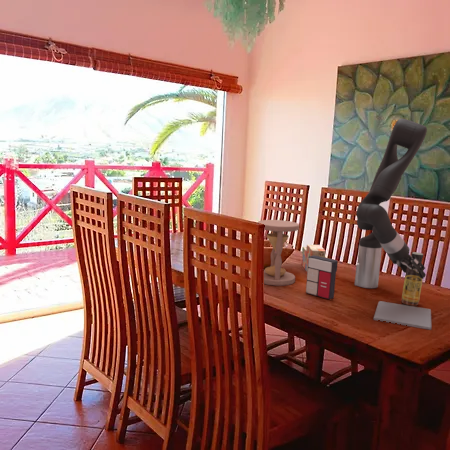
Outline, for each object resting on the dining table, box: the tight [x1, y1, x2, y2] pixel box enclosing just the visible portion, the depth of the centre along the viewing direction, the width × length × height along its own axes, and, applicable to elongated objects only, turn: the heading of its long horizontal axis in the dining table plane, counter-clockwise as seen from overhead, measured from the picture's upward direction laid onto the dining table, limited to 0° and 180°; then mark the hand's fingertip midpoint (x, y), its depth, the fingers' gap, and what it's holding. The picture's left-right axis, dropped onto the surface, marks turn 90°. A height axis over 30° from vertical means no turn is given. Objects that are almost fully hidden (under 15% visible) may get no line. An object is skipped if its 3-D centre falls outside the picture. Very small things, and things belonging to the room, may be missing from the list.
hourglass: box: [257, 219, 300, 287], centre depth 199 cm, size 18×18×25 cm
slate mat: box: [373, 300, 432, 331], centre depth 163 cm, size 18×20×1 cm
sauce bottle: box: [401, 251, 424, 307], centre depth 174 cm, size 7×6×20 cm
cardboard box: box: [301, 244, 326, 272], centre depth 219 cm, size 21×6×12 cm, turn 1°
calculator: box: [305, 255, 339, 300], centre depth 180 cm, size 11×4×15 cm, turn 47°
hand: (414, 273), depth 174 cm, fingers open, 8 cm apart
